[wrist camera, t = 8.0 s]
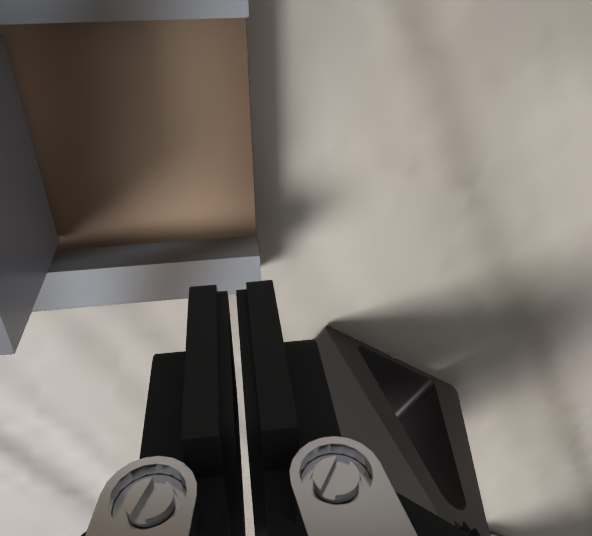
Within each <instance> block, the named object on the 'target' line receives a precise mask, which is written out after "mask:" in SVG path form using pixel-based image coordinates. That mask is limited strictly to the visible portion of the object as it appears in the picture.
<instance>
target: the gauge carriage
mask: <svg viewBox="0 0 592 536" xmlns="http://www.w3.org/2000/svg"><path fill="white" fill-rule="evenodd" d="M58 245H59V239H58V235H57V232H56V228H55V224H54V221H53V217H52V213H51V210H50V206H49V202H48V199H47V195H46V191H45V188H44V184H43V180H42V177H41V173H40V169H39V166H38V162H37V158H36V155H35V151H34V147H33V144H32V140H31V136H30V133H29V129H28V125H27V122H26V118H25V114H24V111H23V107H22V103H21V100H20V96H19V92H18V89H17V85H16V81H15V78H14V74H13V70H12V66H11V63H10V59H9V55H8V52H7V48H6V44H5V41H4V37H3V36H0V355H7V354H15V351H16V349H17V347H18V344H19V342H20V339H21V337H22V334H23V332H24V329H25V327H26V324H27V322H28V319H29V317H30V314H31V312H32V309H33V307H34V304H35V302H36V299H37V297H38V294H39V292H40V289H41V287H42V284H43V282H44V279H45V277H46V274H47V272H48V269H49V267H50V264H51V262H52V259H53V257H54V255H55V252H56V250H57V247H58Z"/></svg>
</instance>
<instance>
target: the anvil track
mask: <svg viewBox="0 0 592 536" xmlns="http://www.w3.org/2000/svg"><path fill="white" fill-rule="evenodd" d="M247 17H249V6H248V0H0V36H3V37H4V41H5V44H6V48H7V52H8V55H9V59H10V63H11V66H12V70H13V74H14V78H15V81H16V85H17V89H18V92H19V96H20V100H21V103H22V107H23V111H24V114H25V118H26V122H27V125H28V129H29V133H30V136H31V140H32V144H33V147H34V151H35V155H36V158H37V162H38V166H39V169H40V173H41V177H42V180H43V184H44V188H45V191H46V195H47V199H48V202H49V206H50V210H51V213H52V217H53V221H54V224H55V228H56V232H57V235H58V239H59V245H58V247H57V250H56V252H55V255H54V257H53V259H52V262H51V264H50V267H49V269H48V272H47V274H46V277H45V279H44V282H43V284H42V287H41V289H40V292H39V294H38V297H37V299H36V302H35V304H34V307H33V309H32V312H36V311H47V310H58V309H70V308H81V307H92V306H104V305H115V304H127V303H138V302H149V301H161V300H172V299H184V298H189V287H192V286H204V285H217V291H228V295H229V294H236V290H242V289H246V282H253V281H261V270H260V254H259V248H258V242H257V237H256V219H255V199H254V178H253V157H252V137H251V116H250V95H249V75H248V54H247V34H246V18H247Z"/></svg>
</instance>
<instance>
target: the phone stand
mask: <svg viewBox="0 0 592 536" xmlns="http://www.w3.org/2000/svg"><path fill="white" fill-rule="evenodd" d="M315 340H316V342H317V345H318V348H319V352H320V356H321V360H322V364H323V368H324V372H325V375H326V379H327V383H328V387H329V391H330V395H331V398H332V402H333V406H334V410H335V414H336V418H337V421H338V425H339V429H340V433H341V437H344V438H350V439H352V440H355V441H357V442H360V443H362V444H363V445H364V446H366V447H367V448H368V449H370V450H371V451H372V452H373V453H374V455H375V456H376V457H377V459H378V460H379V461H380V463H381V465H382V467H383V469H384V471H385V473H386V475H387V477H388V479H389V481H390V483H391V485H392V487H393V489H394V491H396V492H398V493H399V494H401V495H403V496H404V497H406V498H408V499H410V500H411V501H413V502H415V503H416V504H418V505H420V506H422V507H423V508H425V509H427V510H428V511H430V512H432V513H434V514H435V515H437V516H439V517H441V518H442V519H444V520H446V521H447V522H449V523H451V524H453V525H454V526H456V527H458V528H459V529H461V530H463V531H465V532H466V533H468V534H470V535H471V536H491V534H490V531H489V528H488V525H487V522H486V518H485V513H484V509H483V504H482V500H481V495H480V491H479V486H478V482H477V477H476V473H475V469H474V464H473V460H472V455H471V451H470V446H469V442H468V437H467V433H466V428H465V424H464V419H463V415H462V411H461V406H460V402H459V397H458V393H457V391H456V390H455V388H454V387H452V386H451V385H449V384H447V383H445V382H443V381H441V380H439V379H437V378H435V377H433V376H431V375H429V374H427V373H425V372H423V371H421V370H418V369H416V368H414V367H412V366H410V365H408V364H406V363H404V362H402V361H400V360H398V359H395V360H394V359H393V358H392V357H391V356H390V355H387V354H385V353H383V352H381V351H379V350H377V349H375V348H373V347H371V346H369V345H367V344H365V343H363V342H361V341H358V340H356V339H354V338H352V337H350V336H348V335H346V334H344V333H342V332H340V331H338V330H336V329H334V328H332V327H330V326H326V327H325V328H324V329H323V330H322V332H321V333H320V334H319V335H318V336H317V337H316V338H315Z"/></svg>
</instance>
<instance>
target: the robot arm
mask: <svg viewBox="0 0 592 536" xmlns="http://www.w3.org/2000/svg"><path fill="white" fill-rule="evenodd" d="M236 296H237V310H238V323H239V337H240V350H241V364H242V377H243V391H244V404H245V418H246V431H247V443H248V455H249V467H250V479H251V491H252V503H253V515H254V527H255V536H471V535H470V534H468V533H466V532H465V531H463V530H461V529H459V528H458V527H456V526H454V525H453V524H451V523H449V522H447V521H446V520H444V519H442V518H441V517H439V516H437V515H435V514H434V513H432V512H430V511H428V510H427V509H425V508H423V507H422V506H420V505H418V504H416V503H415V502H413V501H411V500H410V499H408V498H406V497H404V496H403V495H401V494H399V493H398V492H396V491H394V489H393V487H392V485H391V483H390V481H389V479H388V477H387V475H386V473H385V471H384V469H383V467H382V465H381V463H380V461H379V460H378V459H377V457H376V456H375V455H374V453H373V452H372V451H371V450H370V449H368V448H367V447H366V446H364V445H363V444H362V443H360V442H357V441H355V440H352V439H350V438H344V437H341V433H340V429H339V425H338V421H337V418H336V414H335V410H334V406H333V402H332V398H331V395H330V391H329V387H328V383H327V379H326V375H325V372H324V368H323V364H322V360H321V356H320V352H319V348H318V345H317V342H316V340H315V339H313V340H302V341H291V342H283V337H282V331H281V325H280V320H279V314H278V309H277V303H276V298H275V292H274V286H273V281H272V280H266V281H253V282H246V289H242V290H236ZM81 536H246V534H245V517H244V501H243V484H242V467H241V450H240V434H239V417H238V401H237V388H236V377H235V366H234V355H233V344H232V334H231V323H230V312H229V301H228V291H217V285H204V286H192V287H189V300H188V318H187V336H186V351H184V352H174V353H163V354H155V355H154V356H153V361H152V368H151V376H150V383H149V391H148V399H147V406H146V414H145V421H144V429H143V437H142V444H141V452H140V459H139V460H137V461H134V462H131V463H129V464H128V465H126V466H125V467H123V468H122V469H120V470H118V471H117V472H116V473H115V474H114V475H113V476H112V477H111V478H110V479H109V480H108V481H107V483H106V485H105V487H104V488H103V490H102V492H101V494H100V496H99V499H98V502H97V504H96V507H95V510H94V513H93V515H92V518H91V521H90V524H89V526H88V529H87V531H86V532H85V533H84V534H82V535H81ZM491 536H497V535H493V534H491Z"/></svg>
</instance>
